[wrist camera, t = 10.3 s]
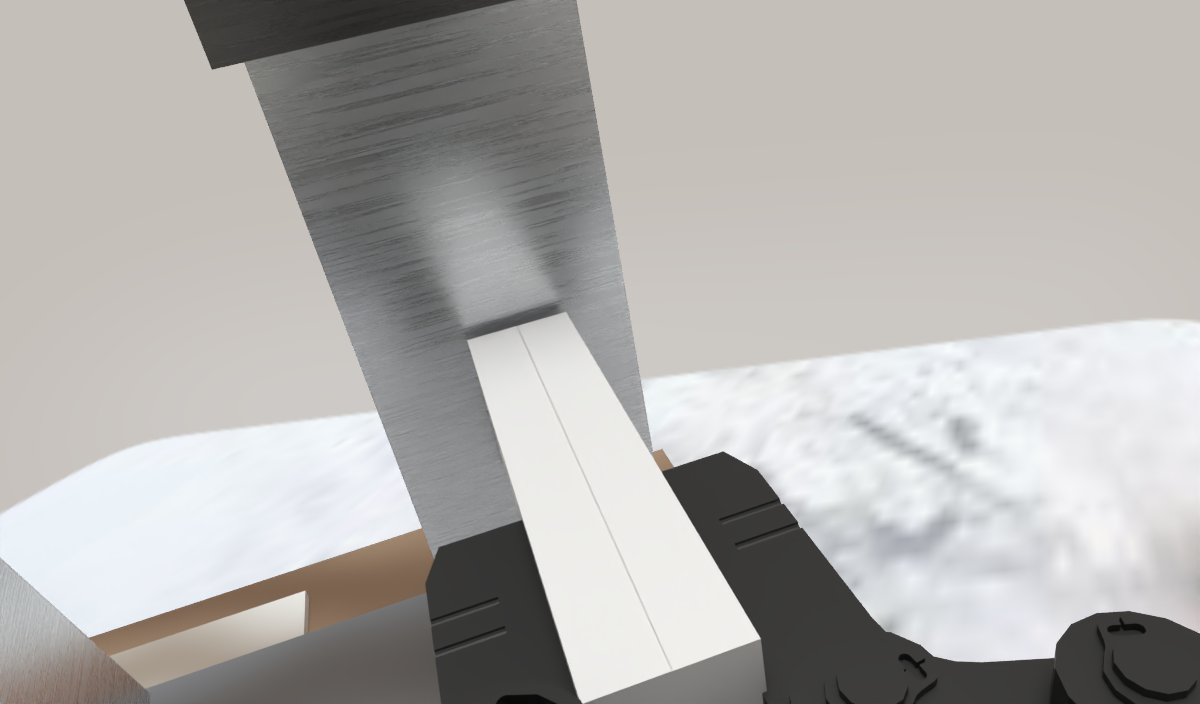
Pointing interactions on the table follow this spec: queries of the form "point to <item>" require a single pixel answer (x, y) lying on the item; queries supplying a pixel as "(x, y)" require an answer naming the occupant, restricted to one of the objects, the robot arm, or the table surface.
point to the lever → (441, 207)
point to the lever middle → (53, 654)
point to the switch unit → (299, 635)
